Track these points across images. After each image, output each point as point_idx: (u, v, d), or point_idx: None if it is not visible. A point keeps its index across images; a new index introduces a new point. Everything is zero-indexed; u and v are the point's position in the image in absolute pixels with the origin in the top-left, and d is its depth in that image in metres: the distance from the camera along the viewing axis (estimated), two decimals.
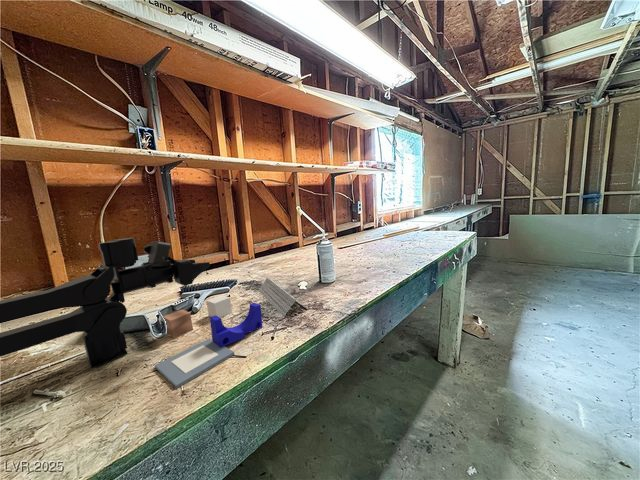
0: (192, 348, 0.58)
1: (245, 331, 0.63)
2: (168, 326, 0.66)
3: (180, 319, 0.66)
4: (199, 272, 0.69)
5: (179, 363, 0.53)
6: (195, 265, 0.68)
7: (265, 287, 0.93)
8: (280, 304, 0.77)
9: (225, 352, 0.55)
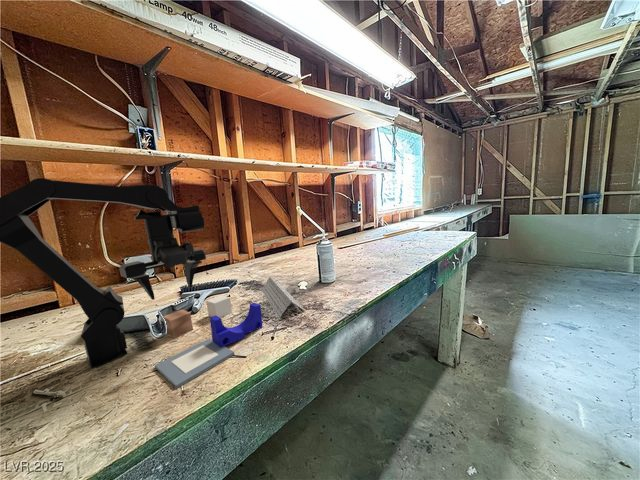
0: (192, 348, 0.58)
1: (245, 331, 0.63)
2: (168, 326, 0.66)
3: (180, 319, 0.66)
4: (142, 286, 0.63)
5: (179, 363, 0.53)
6: None
7: (267, 286, 0.94)
8: (278, 304, 0.77)
9: (225, 352, 0.55)
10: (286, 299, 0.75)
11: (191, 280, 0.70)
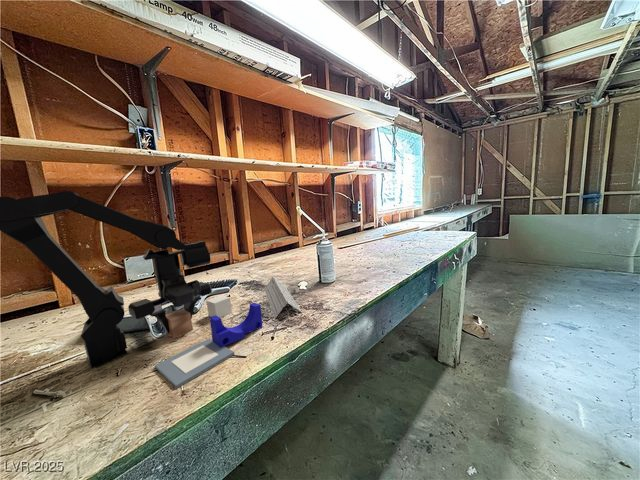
0: (192, 348, 0.58)
1: (245, 331, 0.63)
2: None
3: (180, 318, 0.66)
4: (158, 319, 0.66)
5: (179, 363, 0.53)
6: None
7: (269, 286, 0.94)
8: (275, 305, 0.77)
9: (225, 352, 0.55)
10: (283, 300, 0.75)
11: None
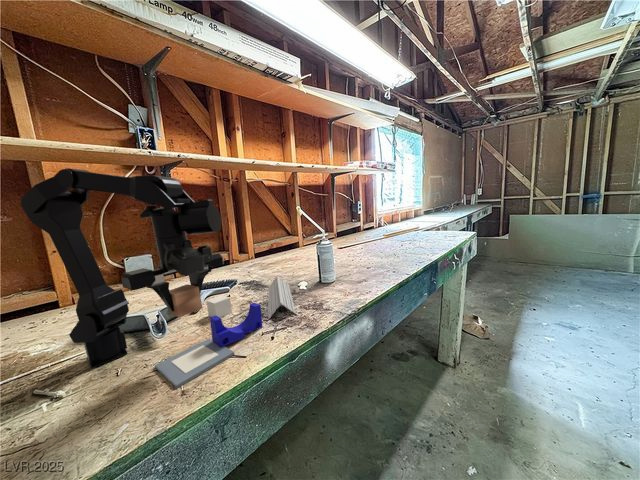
0: (192, 348, 0.58)
1: (245, 331, 0.63)
2: None
3: (186, 293, 0.53)
4: (159, 295, 0.53)
5: (179, 363, 0.53)
6: None
7: (272, 285, 0.95)
8: (272, 305, 0.77)
9: (225, 352, 0.55)
10: (278, 300, 0.74)
11: None
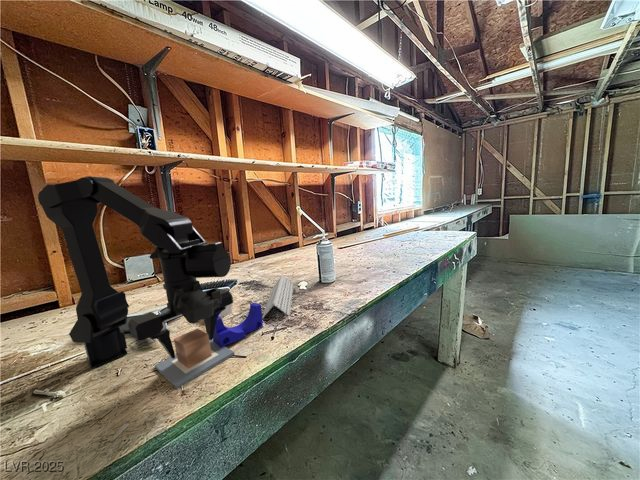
0: None
1: (245, 331, 0.63)
2: (181, 352, 0.51)
3: (196, 342, 0.52)
4: (159, 341, 0.50)
5: (179, 363, 0.53)
6: None
7: (276, 284, 0.95)
8: (268, 305, 0.77)
9: (225, 352, 0.55)
10: (273, 301, 0.74)
11: (212, 331, 0.56)
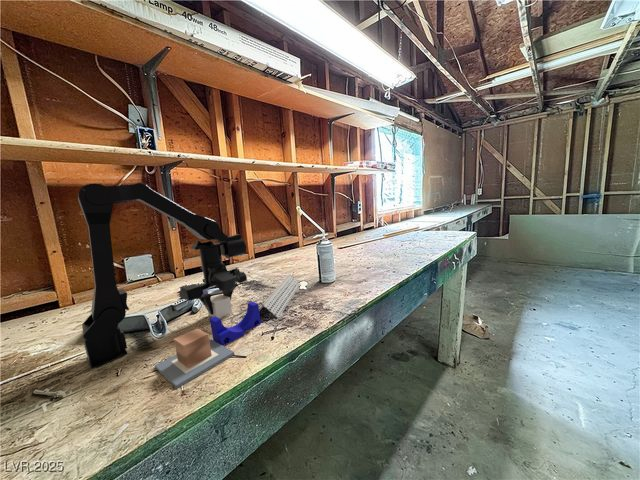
0: None
1: (245, 330, 0.65)
2: (181, 352, 0.51)
3: (196, 342, 0.52)
4: (203, 303, 0.75)
5: (179, 363, 0.53)
6: None
7: None
8: None
9: (225, 352, 0.55)
10: None
11: None
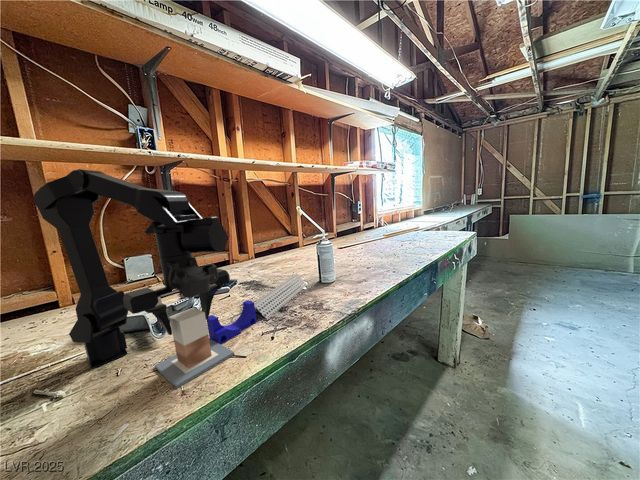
0: None
1: (241, 328, 0.66)
2: (181, 352, 0.51)
3: (196, 342, 0.52)
4: (156, 317, 0.49)
5: (179, 363, 0.53)
6: None
7: None
8: None
9: (225, 352, 0.55)
10: None
11: (208, 310, 0.55)
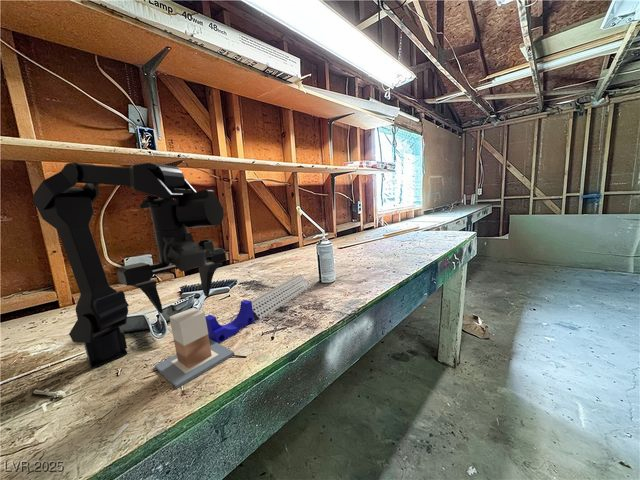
0: None
1: (238, 327, 0.67)
2: (181, 352, 0.51)
3: (196, 342, 0.52)
4: (146, 295, 0.48)
5: (179, 363, 0.53)
6: None
7: None
8: None
9: (225, 352, 0.55)
10: None
11: (208, 287, 0.55)
